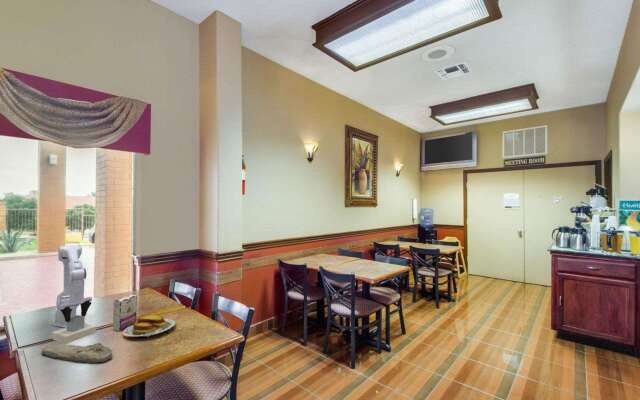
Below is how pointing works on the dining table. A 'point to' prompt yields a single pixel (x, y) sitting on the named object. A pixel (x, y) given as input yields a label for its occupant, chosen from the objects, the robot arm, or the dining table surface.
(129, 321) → the candy bar box
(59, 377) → the dining table surface
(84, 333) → the cream box
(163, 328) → the food on plate
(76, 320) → the slate block
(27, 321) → the dining table surface
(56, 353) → the long grey stone
